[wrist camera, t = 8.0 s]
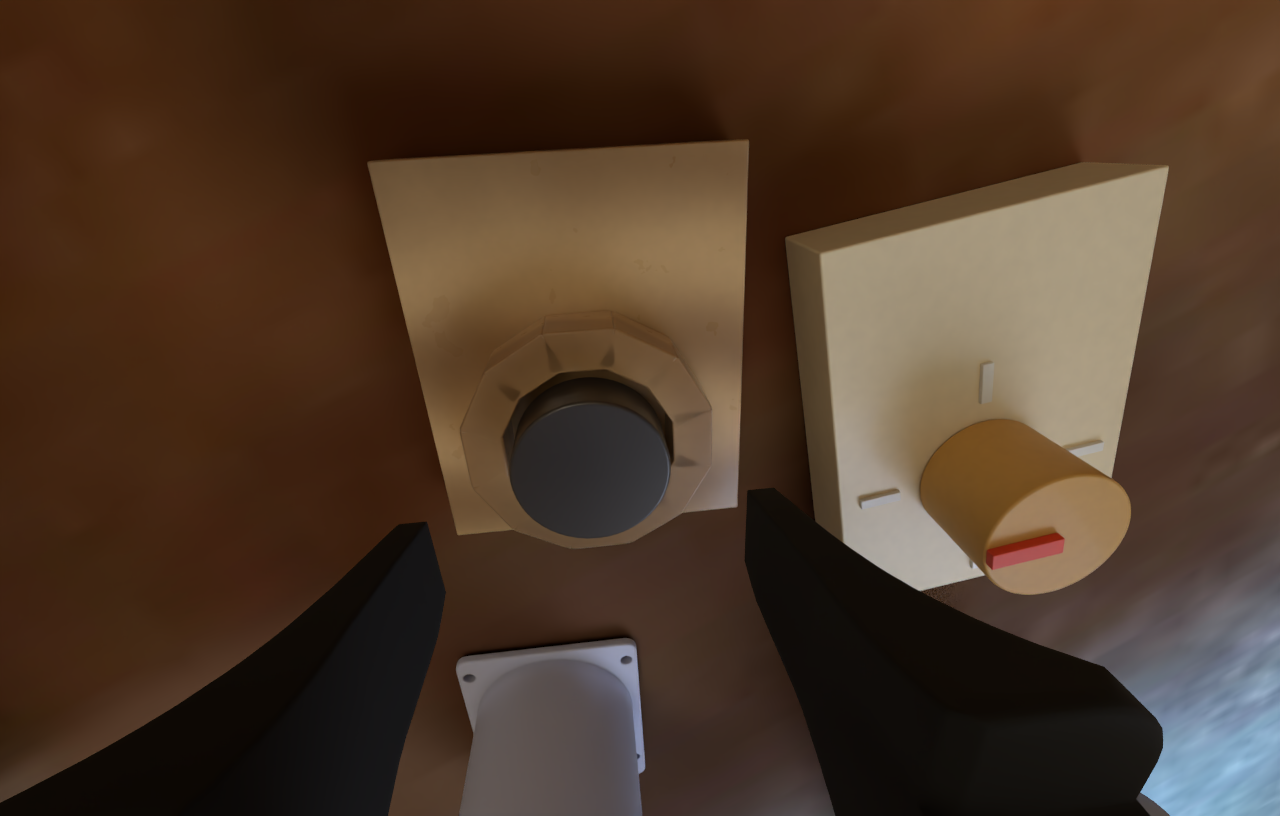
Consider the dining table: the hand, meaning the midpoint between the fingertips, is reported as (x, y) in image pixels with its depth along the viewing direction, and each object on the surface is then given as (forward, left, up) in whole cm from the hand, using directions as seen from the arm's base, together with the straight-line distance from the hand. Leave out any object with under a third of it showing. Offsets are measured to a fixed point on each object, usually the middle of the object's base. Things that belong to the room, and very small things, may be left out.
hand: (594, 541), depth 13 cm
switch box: (+2, 0, -8) cm, 8 cm away
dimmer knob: (-3, -13, -5) cm, 15 cm away
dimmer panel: (-1, -13, -8) cm, 15 cm away
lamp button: (0, 0, -4) cm, 4 cm away
